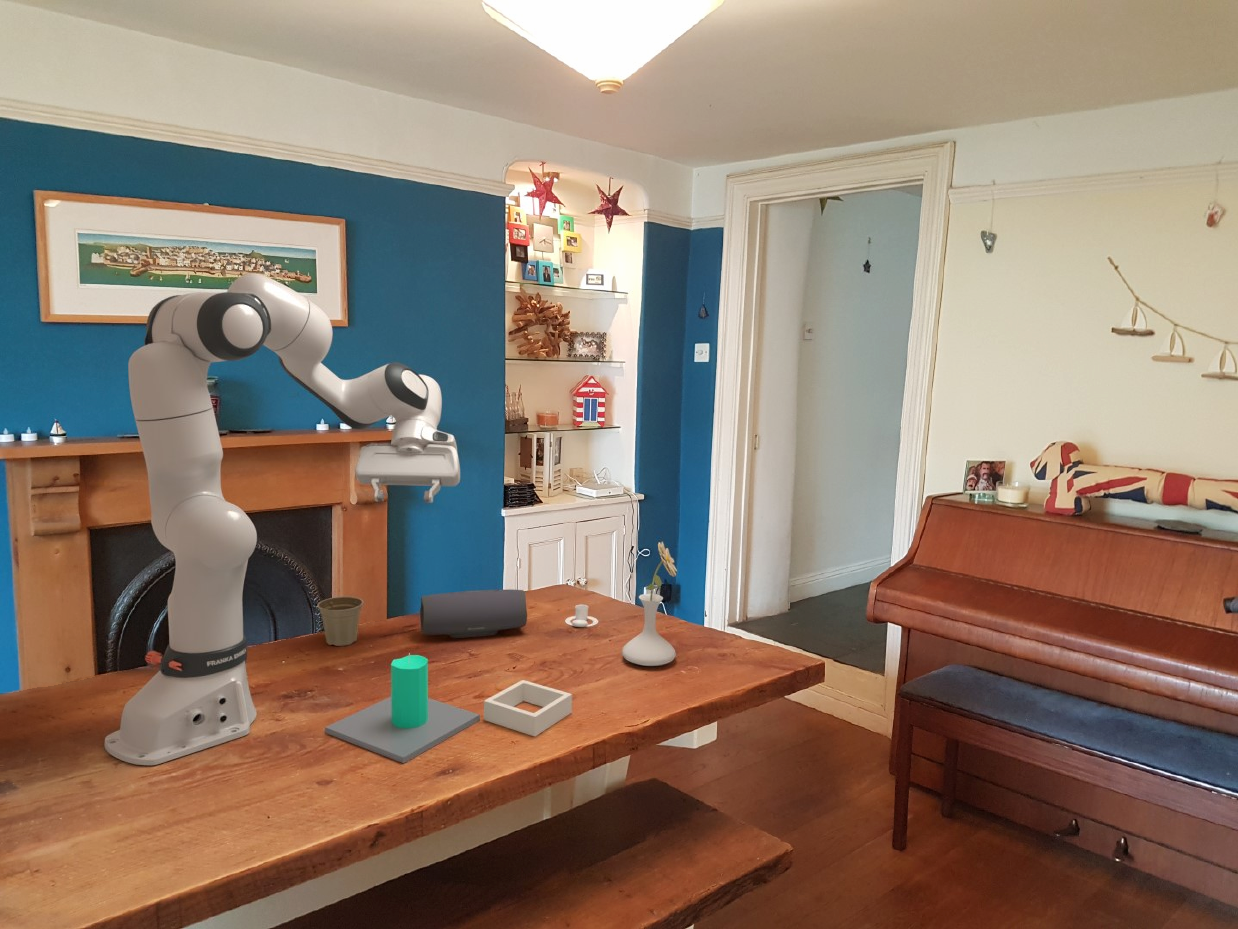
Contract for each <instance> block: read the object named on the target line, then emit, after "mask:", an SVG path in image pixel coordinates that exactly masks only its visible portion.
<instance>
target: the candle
mask: <svg viewBox="0 0 1238 929" xmlns="http://www.w3.org/2000/svg"><path fill="white" fill-rule="evenodd" d="M428 661H429V660H428V658H426V657H425V656H422V655H419V654H411V652H409V653H408V655H406V656H404V657H402V658H401V657H400V658H395V659H393V660H392V662H391V664H390V686H391V689H390V690H391V692H390V694H391V695H390V697H391V717H392V723H393V725H394V726H396V727H399V728H414V727H419V726H421V725H423V724H425V723H426V722H427V720H428V698H429V695H428V694H429V679H428V678H429V675H428V674H429V669H428V668H429V667H428V666H429V662H428Z"/></svg>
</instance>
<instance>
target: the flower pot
mask: <svg viewBox="0 0 1238 929" xmlns="http://www.w3.org/2000/svg"><path fill="white" fill-rule="evenodd" d="M363 605H364V600H363V599H362V598H359V597H355V596H334V597H328V598H326V599H323V600H321V601H320V602H318V603H317V608H318V609H319V614H320V615H321V620H322V624H323V630H324V636H325V640H326V644H328V645H329V646H332V645H334V646H335V647H343V646H349V645H352V644H353V643H355V642H356V641H357V639H358V638H357V637H358V630H359V622H360V614H361V611H362V606H363Z"/></svg>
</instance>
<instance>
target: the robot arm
mask: <svg viewBox="0 0 1238 929" xmlns="http://www.w3.org/2000/svg"><path fill="white" fill-rule="evenodd" d="M145 333H146V335H145V336H144V341H143V343H144V346H141V347H140V348H138V349H137V350H135V351H133V353H132V354H131V356H130V357H129V359H128V365H127V366H128V369H127V370H128V384H129V386H128V388H129V395H130V401H131V407H132V412H133V415H134V416H133V417H134V421H135V424H136V428H137V432H138V437H139V440H140V444H141V445H140V446H141V448H142V454H143V457H144V460H145V464H146V471H147V478H148V480H147V481H148V493H149V504H150V510H151V516H150V520H151V521H150V522H151V526H152V527H151V528H152V530H153V533H154V535H155V536H156V538H157V540H158V542H160V544H161V545H162V546H163V547H165V548H166V549H168V550H169V551H171V552H172V553H173V555H174V559H175V571H174V576H173V578H174V579H173V583H172V589H171V593H170V594H169V596H168V598H167V617H168V636H169V640H168V642H169V644H167V647H166V649H165V652H164V654H162V653H161V652H158V651H156V650H150V651H148V652H147V653H146V655H145V658H144V659H145V662H147V663H148V664H151V665H153V666H158V665H160V666H159V670H158V672H156V673H155V675H154V676H152V678H150V680H148V681H147V682H146V684H145V685H144V686H142V688H140V690H138V691H137V693H135V695H132V697H131V698H130V699H129V700H128V701H127V702H126V703H125V705H124V706H123V710H122V714H121V718H120V728H119V729H118V730H116V731H114V732H111V733H109V734H108V735H107V736H105V738H104V746H103V747H104V749H105V751H106V752H107V753H108V754H110V755H111V756H113V757H115V758H116V759H117V760H118V759H119V760H120V761H123V762H126V763H128V764H133V765H138V766H140V765H141V766H156V765H160V764H162V763H163V764H164V763H166V762H169V761H172V760H174V759H175V760H176V759H178V758H182V757H184V756H187V755H190V754H193V753H196V752H199V751H202V750H205V749H208V748H211V747H214V746H218V745H221V744H223V743H227V742H229V741H232V740H236V739H239V738H241V737H244V736H247V735H248V734H249V733H250V732H251V727H250V726H251V725H252V723H253V722H254V721H255V719H256V717H257V714H258V712H257V709H256V707H255V705H254V701H253V700H252V699H253V698H252V695H251V692H250V687H249V682H248V674H247V670H246V669H247V668H246V663H247V659H248V649H247V647H248V646H247V637H246V635H245V634H244V616H243V614H244V613H243V610H244V609H243V591H244V584H245V583H244V582H245V578H246V573H247V568H248V564H249V563H248V562H249V558H250V557H251V556H252V555H253V553H254V552H255V548H256V547H257V546H256V545H257V541H258V535H257V529H256V527H255V525H254V523H253V522H252V520H251V518H250V517H249V516H248V515H247V514H246V512H245V511H244V510H243V509H241V507H239V506H238V505H235V504H233V503H231V502H229V501H226V499H225V498H224V495H223V492H222V485H221V483H222V482H221V470H222V468H221V466H222V465H221V464H222V461H223V457H224V451H223V447H222V445H223V444H222V442H221V437H220V433H219V428H218V424H217V421H216V419H217V418H216V415H215V410H214V406H213V403H212V398H211V395H210V391H209V388H208V372H209V368H210V366H211V364H212V363H218V362H219V363H221V362H227V361H229V362H235V361H240V360H244V359H247V358H248V357H251V356H253V355H254V354H255V353H257V352H258V351H259V350H260V349H261V347H266V348H267V349H269V350H270V351H271V352H274V353H275V354H276V355H278V361H279V364H280V366H281V368H282V369H283V371H284V372H285V373H286V374H287V375H288V377H290V378H292V380H294V381H295V382H296V383H297V384H299V385H300V386H301V387H303V388H304V389H305V390H307V391H308V392H309V393H311V395H313V396H314V397H315V398H316V399H317V400H319V401H320V402H322V403H323V404H324V405H325V406H327V407H328V408H329V409H330V410H331V411H332V412H333V413H334V415H335V416H336V417H337V419H339V421H341V422H342V423H343V424H345V425H346V426H348V427H350V428H352V429H355V430H364V429H366V428H369V427H370V426H373V425H374V424H376V423H377V422H379V421H382V420H384V419H386V418H388V417H392V418H394V420H395V423H394V426H393V431H392V436H391V442H379V443H377V442H370V443H368V444H365V445H363V446H361V447H360V451H359V454H358V460H357V463H356V466H355V469H354V475H355V478H356V480H357V481H358V483H359V484H360V485H372V488H373V490H374V496H373V497H374V501H375V502H380V503H381V502H384V501H385V500H384V499H385V493H384V489H381V487H382V485H383V486H385V485H386V486H420V487H421V486H423V487H424V486H425V487H426V486H427V487H430V489H429V490H424V494H423V495H424V496H423V501H424V504H425V503H426V504H427V503H428V504H430V503H431V504H432V503H433V502H434V496H435V495H437V494H438V493H439V492H440V490H441V487H456V486H457V485H459V483H460V481H461V465H460V460H459V453H458V446H457V441H456V439H455V436H454V435H453V434H451V433H447V432H444V431H440V430H438V425H439V424H440V421H441V417H442V409H443V408H442V406H443V398H442V391H441V390H442V389H441V386H440V385H439V383H438V382H437V381H436V380H435V379H434V378H432V377H431V376H428V375H425V374H419V373H417V372H416V371H414V370H413V369H412V368H410V367H409V366H407V365H405V364H403V363H401V362H396V361H393V362H390V363H386V364H385V365H382V366H380V367H378V368H375V369H374V370H372V371H370V372H367V373H365V374H363V375H360V376H359V377H356V378H352V379H342V378H339V377H338V376H337V375H336V374H335V373H334V372H332V370H330V369H329V368H328V367H327V366H325V365H324V363H322V362H323V361H324V359H325V358H326V357H327V355H328V353H329V351H330V349H331V345H332V342H333V335H334V334H333V333H334V332H333V326H332V323H331V320H330V318H329V316H328V315H327V314H326V312H325V311H324V310H323V309H321V307H319V306H318V304H317V305H316V303H314V302H313V301H311V300H309V299H308V298H306V297H305V296H304V295H302V294H301V293H298V291H296V290H294V289H292V288H290V287H288V286H287V285H285V284H283V283H281V282H279V281H277V280H275V279H274V278H271V277H268V276H266V275H263V274H261V273H255V272H254V273H253V272H251V273H245V274H243V275H240V276H239V277H238V278H236V279H235V280H234V281H233V282H232V283H231V284H230V286H228V289H227V290H226V292H205V291H198V292H191V293H185V294H176V295H171V296H168V297H166V298H164V299H162V300H160V301H159V302H157V303H156V304H155V305H154V307H152V308H151V310H150V312H149V313H148V317H147V320H146V332H145Z"/></svg>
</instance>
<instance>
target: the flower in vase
mask: <svg viewBox="0 0 1238 929" xmlns="http://www.w3.org/2000/svg"><path fill="white" fill-rule="evenodd" d="M657 548H658V549H657V550H658V553H659V555H660V558H661V559H660V560H661V561H660V563H659V564H658V565H657V567H656V570H655V572H654V575H653V576H652V577H653V578H652V583H649V585H648V586H647V587H646V588H645V590H649V591H650V593H643V594H640V595H639V596H638V599H639V600H640V602H641V603H642V606H643V610H644V625H643V626H644V627H643V630H642V631H641V632H640V633H639V634H638V635H636V636H635V637H633V638H632V639H631V640H629V641H628V642H627V643H626V644H625V645H624V646H623V647H622V649H621V655H622V656H623V658H624V659H625V660H626V661H628V662H630V663H632V664H636V665H640V666H644V667H645V666H646V667H655V666H656V667H657V666H663V665H666V664H669V663H671V662H672V661H673V660H674V659H675V658H676V655H677V653H676V650H675V647H673V646H672V644H671V643H669V642H668V641H667V640H666V639H665V638H663V637H662V636H661V635H660V634H659V633H658V631H657V628H656V618H657V617H656V616H657V612H658V607H659V605H660V604H661V602H662V601H663V600H664V597H663V596H662V595H660V594H656V593H653V591H654V590H656V589H657V588H660V587H661V586H662V584H663V583H662V580H661V579H662V578H660V576H659V575H657V573H658V571H659V569H660V567H661V566H662V564H663V566H664V568H665V569H666V571H667V573H668V574H669V576H672V577H677V573H676V572H678V569H677V567H676V566H675V564H674V563H675V560H674V558H673V557H671V553H670V550H669V547H667V548H665V544H664V541H661V542H658V544H657Z"/></svg>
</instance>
